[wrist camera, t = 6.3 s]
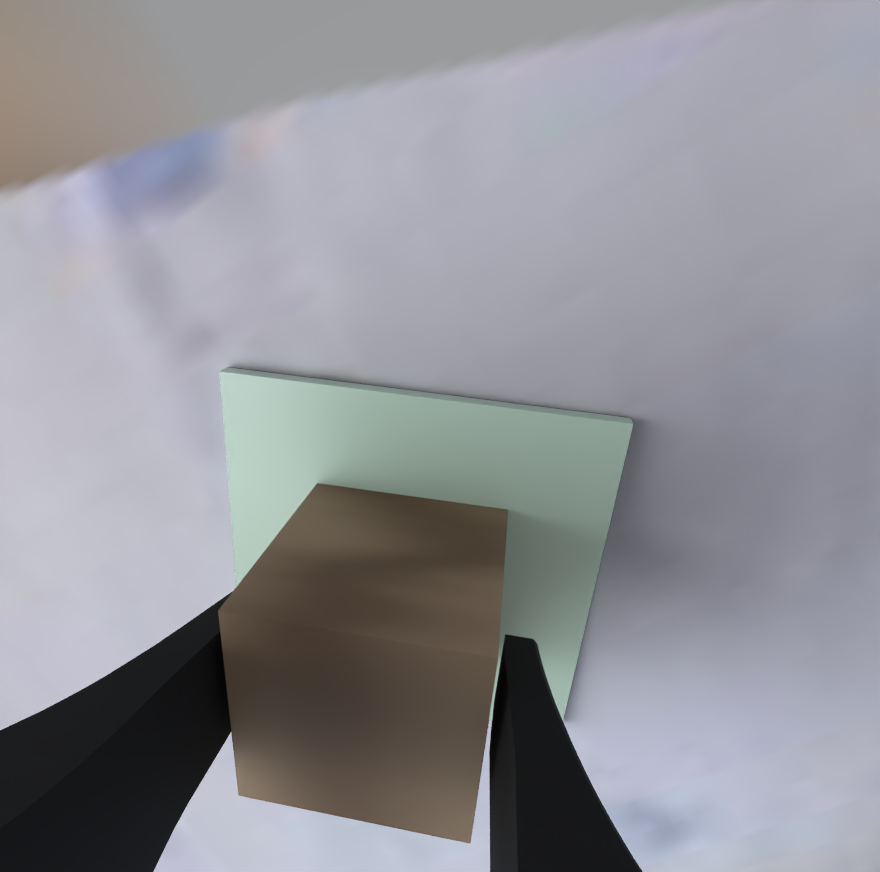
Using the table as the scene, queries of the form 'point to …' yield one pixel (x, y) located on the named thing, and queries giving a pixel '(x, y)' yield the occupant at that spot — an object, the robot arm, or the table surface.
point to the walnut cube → (368, 659)
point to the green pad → (438, 482)
